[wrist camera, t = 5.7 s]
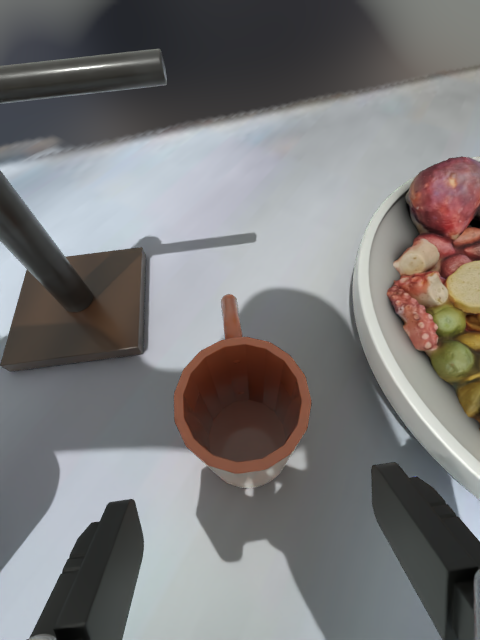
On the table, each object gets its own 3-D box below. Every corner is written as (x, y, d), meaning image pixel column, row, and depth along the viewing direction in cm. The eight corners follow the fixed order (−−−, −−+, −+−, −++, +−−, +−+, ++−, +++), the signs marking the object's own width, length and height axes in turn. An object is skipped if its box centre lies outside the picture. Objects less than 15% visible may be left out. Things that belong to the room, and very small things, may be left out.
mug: (299, 481, 20) (326, 461, 12) (207, 494, 19) (175, 483, 12) (272, 345, 24) (279, 268, 17) (198, 355, 24) (171, 282, 16)
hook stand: (10, 372, 24) (-426, 125, 9) (36, 269, 29) (-208, 0, 14) (216, 344, 25) (147, 62, 9) (206, 248, 30) (152, -37, 14)
